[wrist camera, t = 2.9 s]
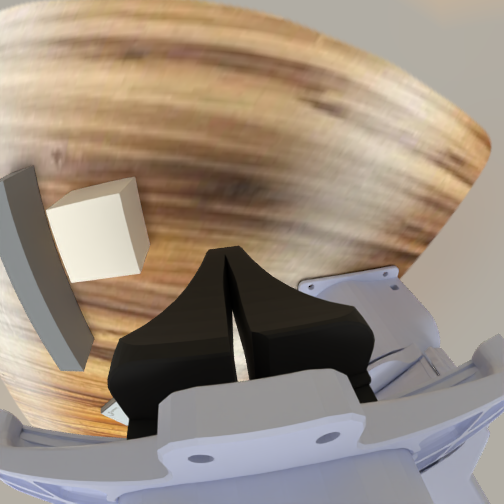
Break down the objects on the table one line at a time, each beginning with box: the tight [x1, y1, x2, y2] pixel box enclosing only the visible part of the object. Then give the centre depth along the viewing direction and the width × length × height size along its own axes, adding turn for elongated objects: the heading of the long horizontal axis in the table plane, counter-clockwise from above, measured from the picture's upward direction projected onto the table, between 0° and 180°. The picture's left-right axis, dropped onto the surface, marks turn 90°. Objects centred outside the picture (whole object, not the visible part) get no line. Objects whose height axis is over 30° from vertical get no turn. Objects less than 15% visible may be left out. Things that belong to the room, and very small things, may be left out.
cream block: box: [46, 177, 150, 283], centre depth 17 cm, size 5×5×4 cm
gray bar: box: [0, 166, 94, 371], centre depth 18 cm, size 2×16×4 cm, turn 4°
